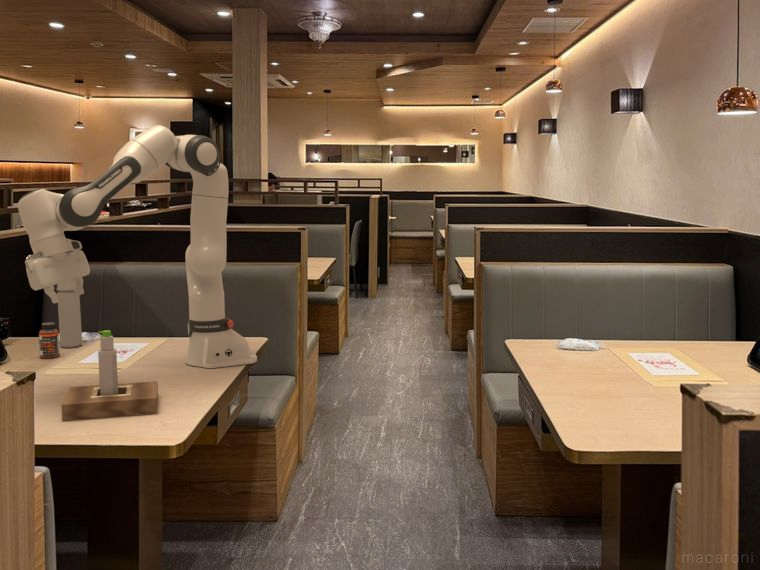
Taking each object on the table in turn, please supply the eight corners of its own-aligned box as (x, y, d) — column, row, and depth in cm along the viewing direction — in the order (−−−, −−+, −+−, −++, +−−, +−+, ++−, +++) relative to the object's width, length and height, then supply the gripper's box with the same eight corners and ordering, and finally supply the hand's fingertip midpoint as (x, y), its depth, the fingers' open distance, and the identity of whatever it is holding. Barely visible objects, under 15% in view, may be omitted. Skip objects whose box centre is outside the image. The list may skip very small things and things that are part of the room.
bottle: (102, 405, 191) (99, 329, 188) (120, 404, 191) (117, 329, 189) (99, 410, 187) (95, 332, 184) (117, 409, 187) (113, 332, 184)
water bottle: (78, 348, 255) (74, 277, 251) (55, 348, 255) (51, 276, 251) (89, 342, 264) (85, 273, 260) (67, 342, 264) (63, 273, 260)
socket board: (158, 395, 200) (157, 380, 199) (156, 413, 184) (156, 396, 184) (70, 401, 194) (69, 386, 193) (62, 420, 178) (61, 403, 178)
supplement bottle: (40, 360, 239) (38, 325, 237) (39, 356, 244) (37, 322, 242) (60, 358, 241) (58, 324, 240) (59, 354, 247) (57, 321, 245)
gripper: (32, 253, 187) (52, 304, 189) (84, 241, 206) (101, 288, 208) (14, 259, 189) (33, 310, 191) (66, 247, 208) (83, 293, 210)
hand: (69, 298), depth 200 cm, fingers open, 8 cm apart
